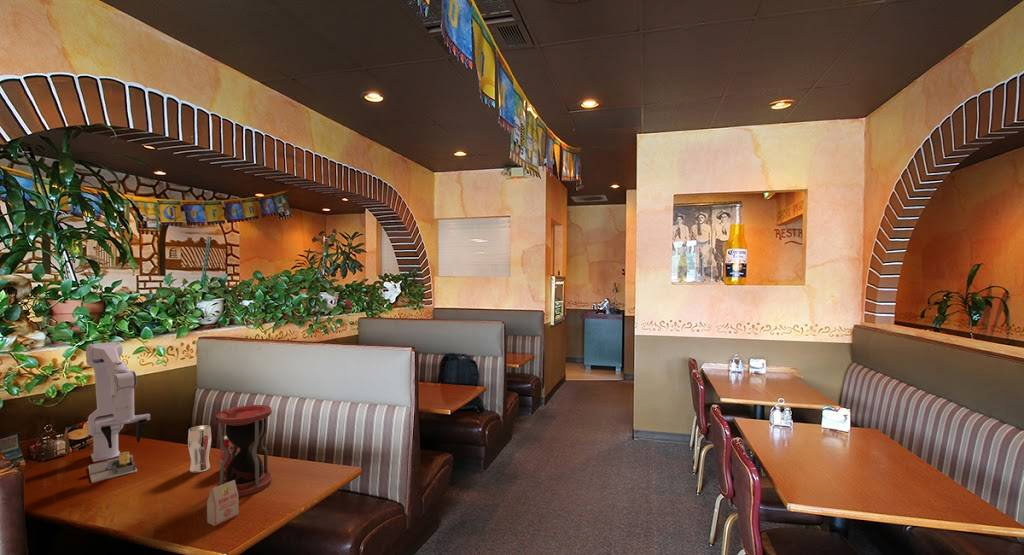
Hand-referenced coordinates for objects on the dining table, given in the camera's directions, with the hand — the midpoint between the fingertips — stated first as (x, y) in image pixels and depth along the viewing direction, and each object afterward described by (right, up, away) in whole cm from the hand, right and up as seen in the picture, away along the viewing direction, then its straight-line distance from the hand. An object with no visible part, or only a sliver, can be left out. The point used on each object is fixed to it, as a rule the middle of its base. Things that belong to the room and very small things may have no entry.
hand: (124, 444), depth 164 cm
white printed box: (+55, -11, -31) cm, 64 cm away
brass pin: (0, -9, 0) cm, 9 cm away
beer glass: (+26, -10, +2) cm, 28 cm away
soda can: (+37, -10, +2) cm, 38 cm away
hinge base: (-3, -10, -1) cm, 10 cm away
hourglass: (+49, -10, -11) cm, 52 cm away
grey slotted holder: (-8, -10, +4) cm, 13 cm away
